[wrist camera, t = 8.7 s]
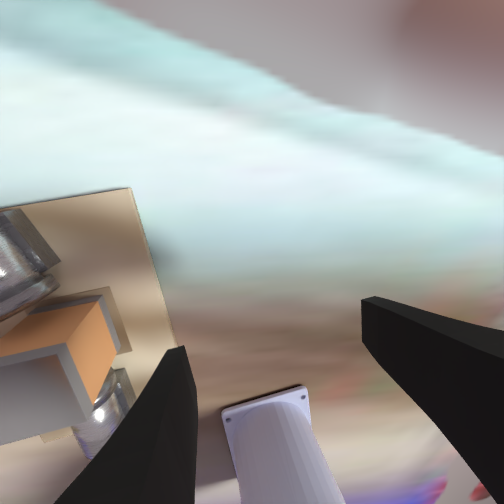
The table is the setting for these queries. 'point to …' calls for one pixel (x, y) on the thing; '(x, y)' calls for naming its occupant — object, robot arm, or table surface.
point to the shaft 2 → (106, 412)
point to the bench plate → (105, 276)
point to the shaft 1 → (23, 264)
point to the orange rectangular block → (54, 367)
